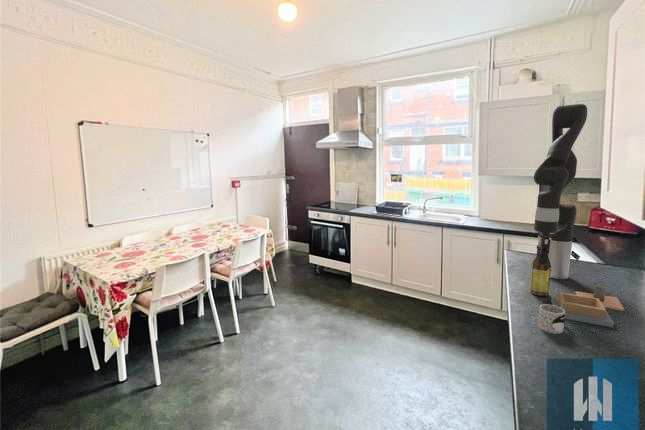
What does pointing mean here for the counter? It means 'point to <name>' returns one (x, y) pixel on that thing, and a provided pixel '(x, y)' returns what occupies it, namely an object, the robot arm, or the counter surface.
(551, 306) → the mug
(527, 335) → the counter surface
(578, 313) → the socket stand
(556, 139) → the robot arm
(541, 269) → the sauce bottle
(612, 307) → the lid
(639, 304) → the counter surface
